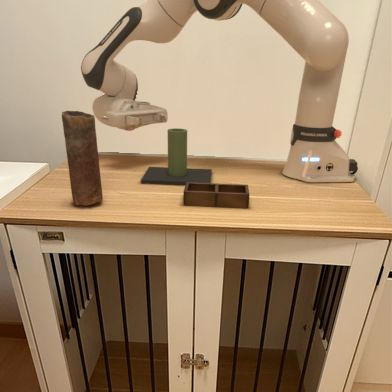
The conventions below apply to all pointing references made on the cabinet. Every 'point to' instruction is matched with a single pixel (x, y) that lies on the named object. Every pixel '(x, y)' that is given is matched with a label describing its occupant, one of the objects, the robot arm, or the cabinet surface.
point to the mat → (161, 177)
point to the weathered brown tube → (82, 157)
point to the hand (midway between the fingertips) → (152, 120)
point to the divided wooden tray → (216, 195)
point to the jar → (177, 152)
